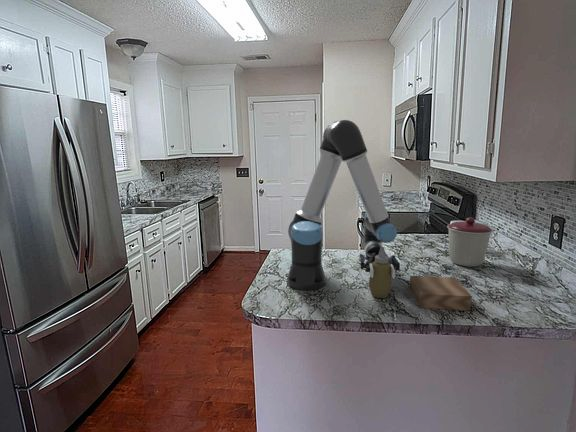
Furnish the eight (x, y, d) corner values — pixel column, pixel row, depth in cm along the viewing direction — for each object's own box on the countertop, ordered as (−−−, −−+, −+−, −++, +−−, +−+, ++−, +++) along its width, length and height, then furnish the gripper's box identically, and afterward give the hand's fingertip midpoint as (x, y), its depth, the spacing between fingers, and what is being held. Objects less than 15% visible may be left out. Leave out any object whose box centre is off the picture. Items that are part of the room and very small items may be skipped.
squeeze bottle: (393, 293, 128) (396, 245, 124) (388, 302, 121) (391, 252, 117) (371, 288, 132) (373, 242, 128) (365, 297, 125) (367, 248, 121)
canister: (497, 265, 156) (502, 218, 152) (474, 273, 147) (479, 224, 142) (458, 254, 171) (463, 211, 167) (435, 261, 162) (439, 216, 157)
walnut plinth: (419, 307, 117) (420, 293, 116) (409, 288, 133) (410, 275, 132) (470, 310, 115) (471, 296, 114) (453, 290, 131) (455, 277, 130)
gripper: (399, 262, 141) (411, 285, 119) (350, 260, 144) (353, 283, 121) (400, 244, 140) (413, 264, 117) (351, 243, 142) (354, 262, 120)
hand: (383, 274), depth 119 cm, fingers closed on squeeze bottle, 6 cm apart
